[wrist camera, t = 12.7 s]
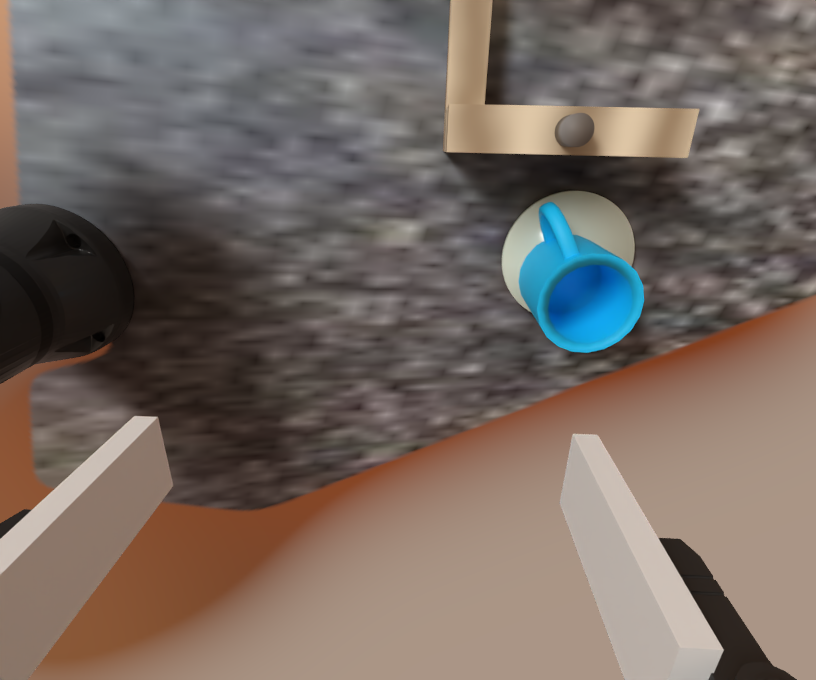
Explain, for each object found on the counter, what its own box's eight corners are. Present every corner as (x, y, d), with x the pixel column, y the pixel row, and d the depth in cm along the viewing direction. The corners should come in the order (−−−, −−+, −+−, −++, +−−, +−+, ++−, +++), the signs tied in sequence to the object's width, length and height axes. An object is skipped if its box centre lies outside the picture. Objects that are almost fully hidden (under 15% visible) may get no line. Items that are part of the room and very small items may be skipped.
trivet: (495, 314, 46) (496, 317, 45) (508, 188, 41) (509, 189, 41) (617, 318, 46) (620, 321, 45) (643, 192, 41) (647, 193, 40)
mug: (616, 299, 44) (654, 330, 37) (534, 330, 46) (554, 366, 38) (581, 177, 40) (616, 185, 32) (492, 216, 42) (506, 232, 34)
